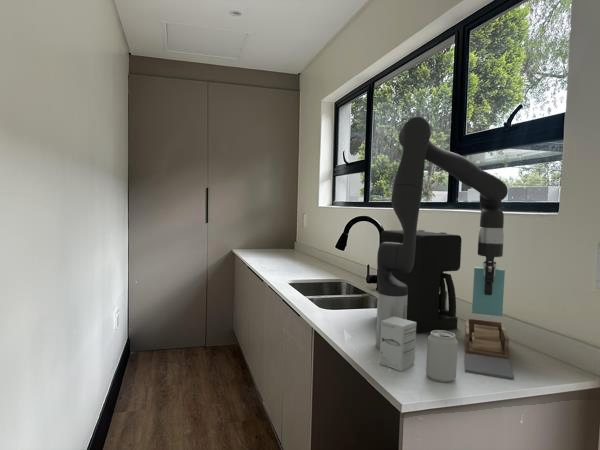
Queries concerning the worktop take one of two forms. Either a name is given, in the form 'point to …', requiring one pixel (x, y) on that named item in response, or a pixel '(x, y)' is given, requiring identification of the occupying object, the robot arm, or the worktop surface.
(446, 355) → the can
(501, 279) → the teal board
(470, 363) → the charcoal mat
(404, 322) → the supplement box
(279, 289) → the worktop surface
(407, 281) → the coffee maker
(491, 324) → the walnut rack
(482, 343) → the lower offcut
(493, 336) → the upper offcut
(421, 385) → the worktop surface
